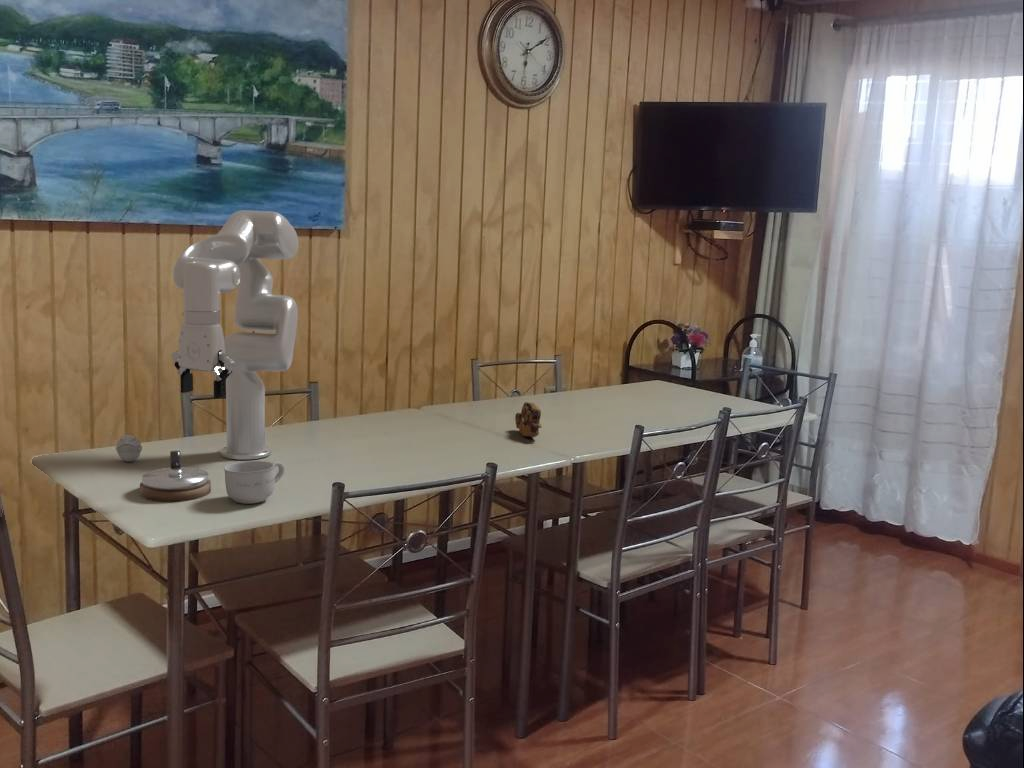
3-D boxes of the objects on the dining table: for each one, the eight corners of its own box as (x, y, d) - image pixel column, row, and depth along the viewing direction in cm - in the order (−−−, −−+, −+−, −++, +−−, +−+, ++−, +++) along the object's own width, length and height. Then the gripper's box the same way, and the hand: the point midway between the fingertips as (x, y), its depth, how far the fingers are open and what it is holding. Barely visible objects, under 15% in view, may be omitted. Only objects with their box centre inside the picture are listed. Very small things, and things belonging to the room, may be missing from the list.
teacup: (235, 510, 211) (234, 474, 210) (217, 497, 220) (216, 462, 218) (296, 501, 219) (296, 466, 218) (276, 488, 228) (276, 454, 226)
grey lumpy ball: (113, 465, 241) (112, 437, 239) (119, 458, 247) (118, 430, 246) (140, 465, 242) (139, 437, 240) (144, 457, 248) (144, 430, 247)
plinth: (141, 484, 226) (141, 475, 226) (209, 481, 231) (209, 472, 231) (138, 503, 212) (138, 494, 212) (211, 499, 217) (211, 491, 217)
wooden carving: (508, 430, 296) (510, 397, 294) (522, 429, 298) (524, 397, 296) (531, 443, 281) (533, 408, 279) (546, 442, 283) (547, 408, 281)
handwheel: (143, 474, 226) (142, 451, 225) (207, 472, 230) (207, 449, 229) (140, 492, 213) (140, 467, 212) (209, 489, 217) (208, 464, 216)
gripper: (160, 316, 218) (161, 392, 221) (220, 323, 210) (221, 402, 214) (185, 313, 225) (186, 387, 228) (244, 320, 217) (245, 396, 220)
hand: (203, 394), depth 221 cm, fingers open, 9 cm apart
